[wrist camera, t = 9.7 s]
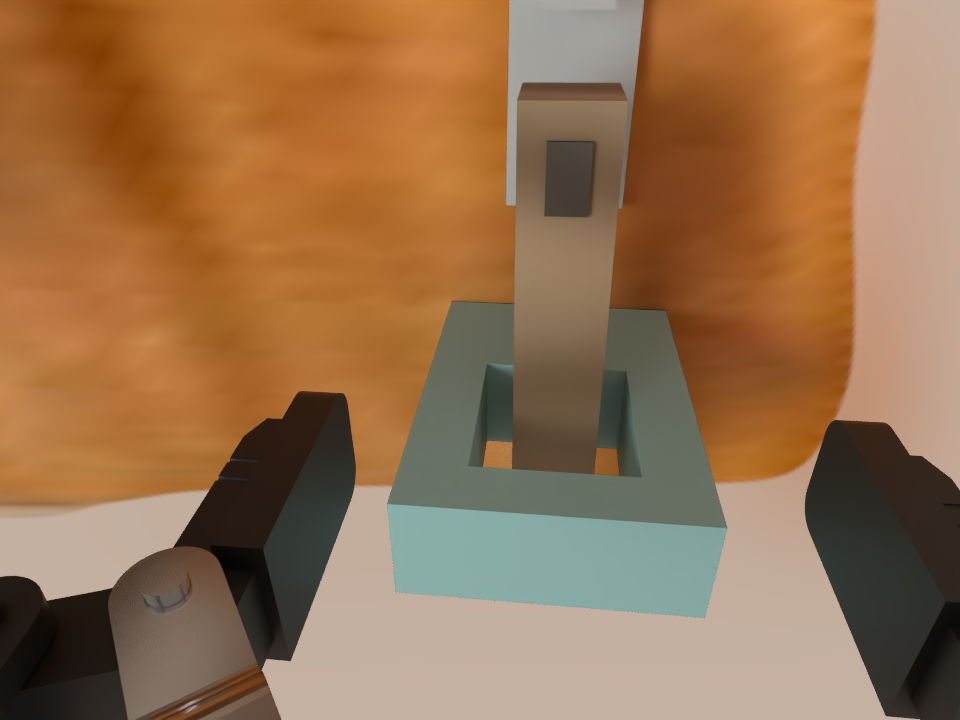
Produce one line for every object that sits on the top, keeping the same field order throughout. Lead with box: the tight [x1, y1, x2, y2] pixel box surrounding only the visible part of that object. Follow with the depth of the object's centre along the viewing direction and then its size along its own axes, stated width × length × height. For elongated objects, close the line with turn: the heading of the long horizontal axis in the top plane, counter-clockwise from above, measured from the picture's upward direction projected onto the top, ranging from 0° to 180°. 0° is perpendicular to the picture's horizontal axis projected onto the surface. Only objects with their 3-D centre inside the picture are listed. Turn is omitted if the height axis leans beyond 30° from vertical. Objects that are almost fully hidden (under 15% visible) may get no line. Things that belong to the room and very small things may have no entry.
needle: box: [512, 82, 628, 474], centre depth 23 cm, size 19×3×3 cm, turn 0°
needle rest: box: [506, 0, 644, 209], centre depth 22 cm, size 11×4×5 cm, turn 0°
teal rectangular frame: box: [387, 301, 727, 618], centre depth 24 cm, size 4×9×13 cm, turn 90°
